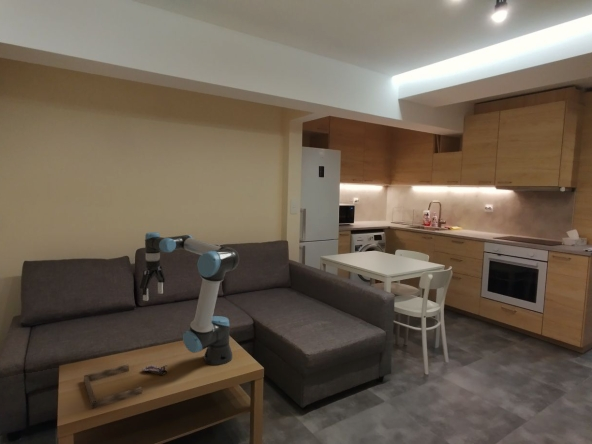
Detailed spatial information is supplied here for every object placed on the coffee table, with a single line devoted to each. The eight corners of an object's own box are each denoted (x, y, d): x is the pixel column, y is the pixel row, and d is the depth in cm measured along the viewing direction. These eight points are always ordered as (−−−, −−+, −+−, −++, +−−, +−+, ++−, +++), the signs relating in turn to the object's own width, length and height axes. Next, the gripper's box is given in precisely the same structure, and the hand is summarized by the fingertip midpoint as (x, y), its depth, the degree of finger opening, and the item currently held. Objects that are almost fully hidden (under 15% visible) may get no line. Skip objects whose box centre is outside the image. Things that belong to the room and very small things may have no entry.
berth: (128, 369, 180) (128, 364, 180) (141, 394, 159) (141, 388, 159) (84, 381, 169) (83, 375, 168) (92, 410, 147) (92, 403, 147)
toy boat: (139, 371, 178) (140, 363, 178) (147, 367, 183) (148, 359, 183) (161, 376, 174) (161, 368, 173) (168, 372, 179) (169, 364, 179)
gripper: (159, 255, 211) (160, 290, 212) (132, 263, 186) (132, 302, 188) (171, 256, 209) (171, 291, 211) (144, 264, 185) (145, 304, 187)
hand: (153, 296), depth 200 cm, fingers open, 13 cm apart
